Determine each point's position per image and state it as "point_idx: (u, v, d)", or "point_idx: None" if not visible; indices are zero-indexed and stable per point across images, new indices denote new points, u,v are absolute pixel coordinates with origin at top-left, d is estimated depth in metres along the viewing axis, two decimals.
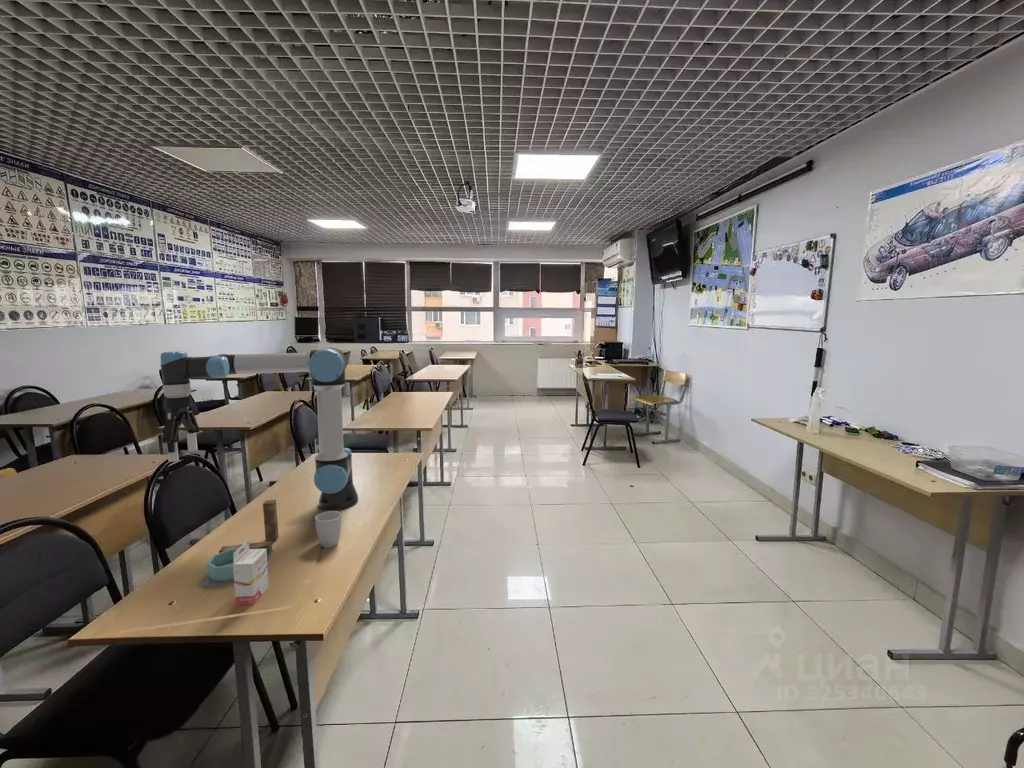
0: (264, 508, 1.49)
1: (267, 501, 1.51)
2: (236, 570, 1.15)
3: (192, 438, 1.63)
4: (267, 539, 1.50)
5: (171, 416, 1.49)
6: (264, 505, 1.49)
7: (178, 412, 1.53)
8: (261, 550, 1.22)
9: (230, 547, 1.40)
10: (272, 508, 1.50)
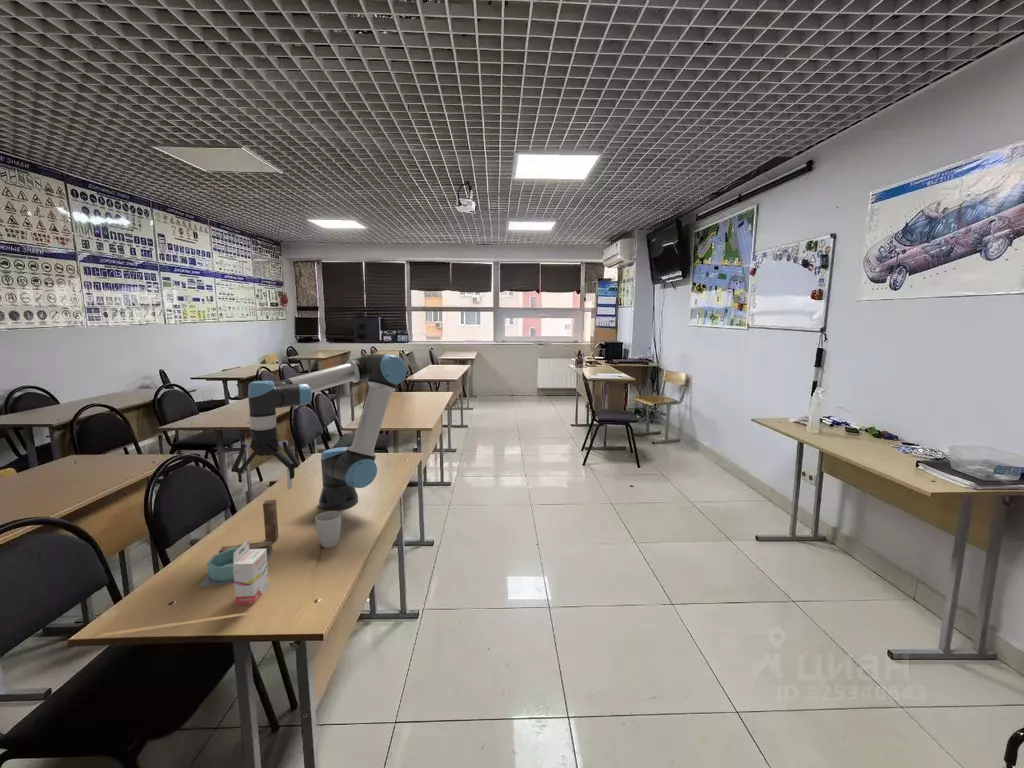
0: (264, 508, 1.49)
1: (267, 501, 1.51)
2: (236, 570, 1.15)
3: None
4: (267, 539, 1.50)
5: None
6: (264, 505, 1.49)
7: (253, 444, 1.46)
8: (261, 550, 1.22)
9: (230, 547, 1.40)
10: (272, 508, 1.50)
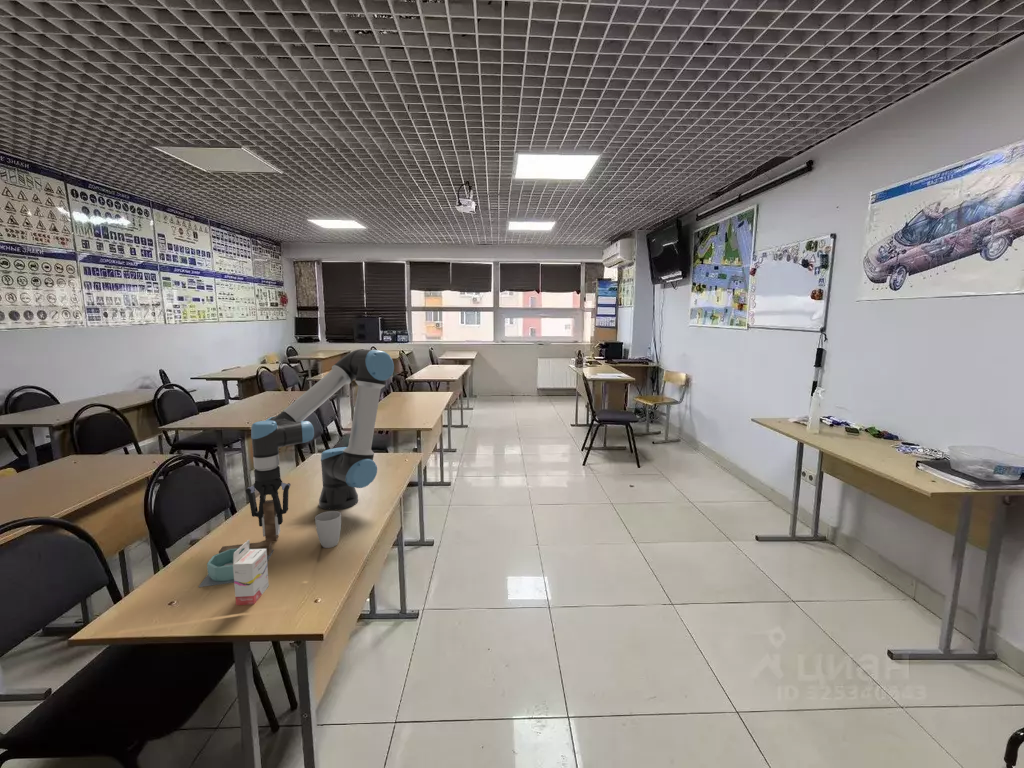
0: (264, 508, 1.49)
1: (267, 501, 1.51)
2: (236, 570, 1.15)
3: None
4: (267, 539, 1.50)
5: None
6: (264, 505, 1.49)
7: (257, 484, 1.48)
8: (261, 550, 1.22)
9: (230, 547, 1.40)
10: (272, 508, 1.50)
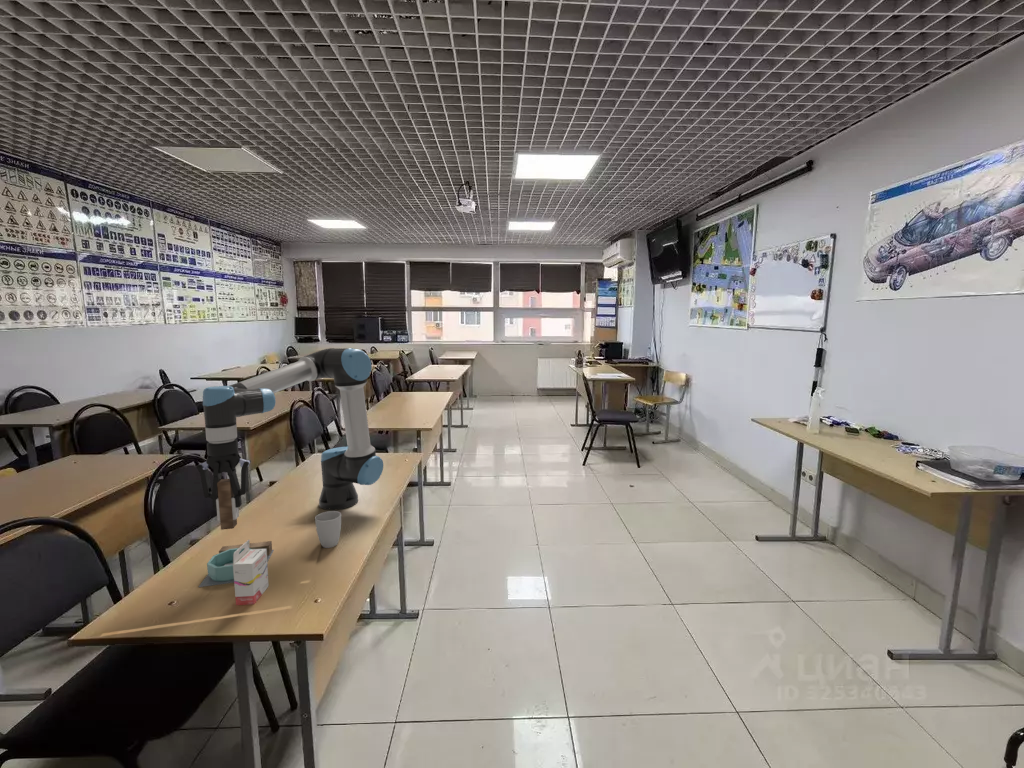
0: (219, 488, 1.28)
1: (223, 480, 1.30)
2: (236, 570, 1.15)
3: None
4: (222, 524, 1.29)
5: None
6: (219, 484, 1.28)
7: (210, 459, 1.27)
8: (261, 550, 1.22)
9: (230, 547, 1.40)
10: (228, 487, 1.28)
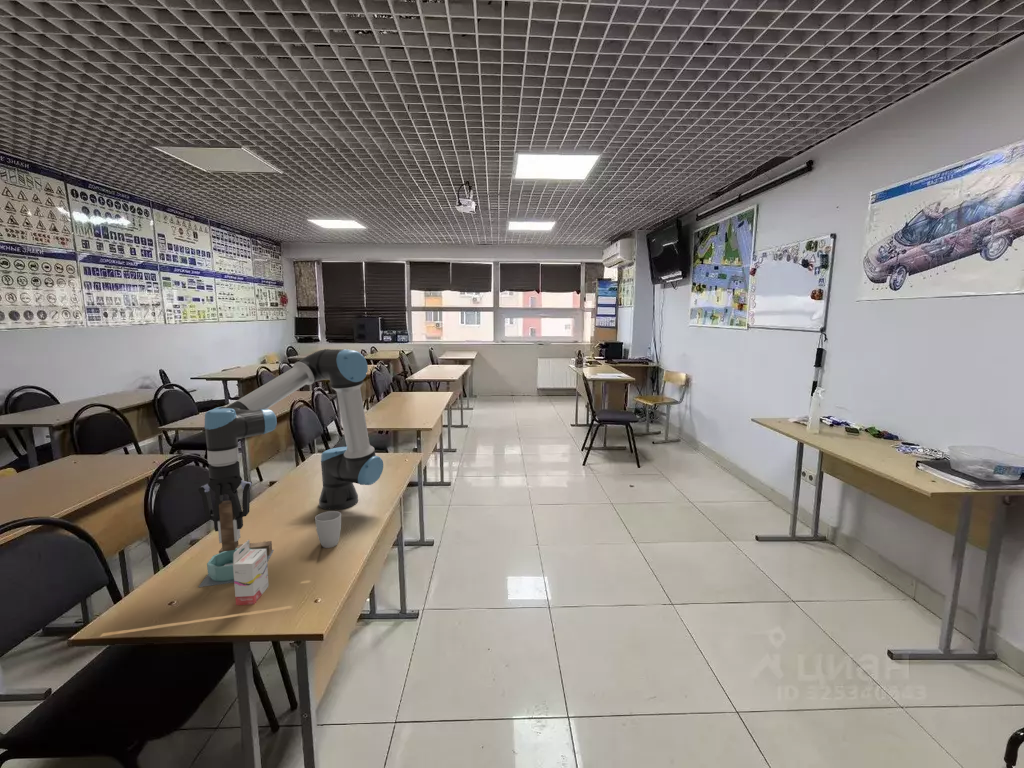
0: (220, 510, 1.28)
1: (224, 502, 1.30)
2: (236, 570, 1.15)
3: None
4: (224, 546, 1.30)
5: None
6: (220, 506, 1.28)
7: (211, 482, 1.27)
8: (261, 550, 1.22)
9: None
10: (229, 509, 1.29)
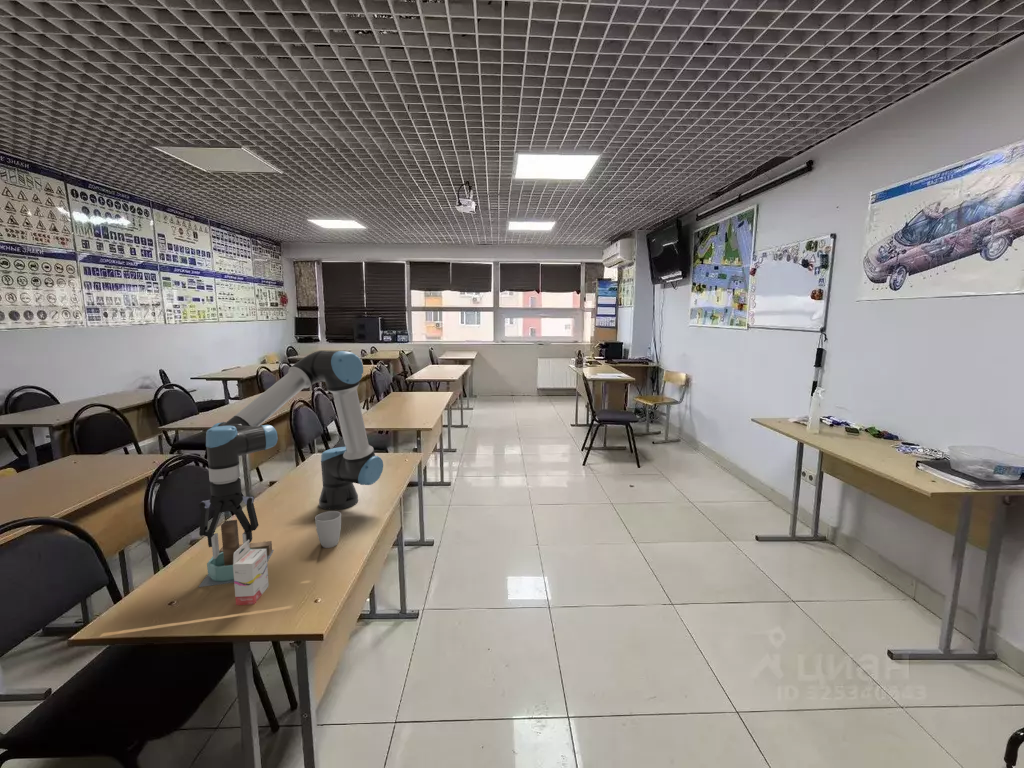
0: (222, 530, 1.29)
1: (226, 522, 1.31)
2: (236, 570, 1.15)
3: None
4: None
5: None
6: (222, 527, 1.29)
7: (213, 499, 1.28)
8: (261, 550, 1.22)
9: None
10: (231, 530, 1.30)
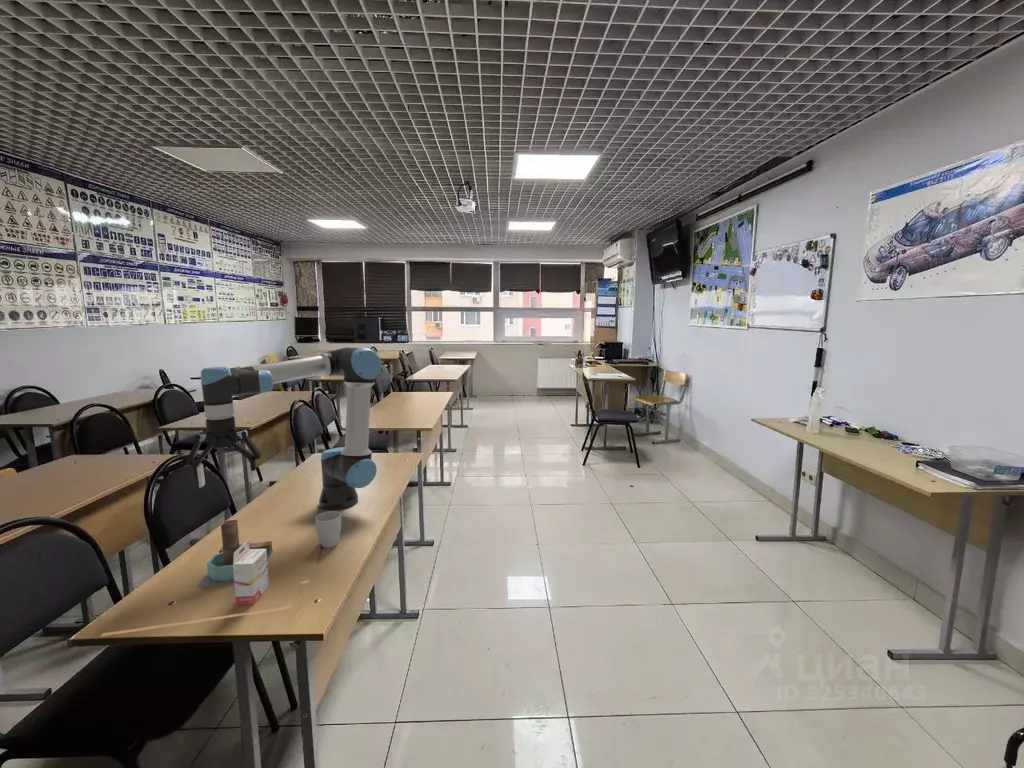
0: (222, 530, 1.29)
1: (227, 522, 1.31)
2: (236, 570, 1.15)
3: None
4: None
5: None
6: (222, 527, 1.29)
7: (209, 435, 1.36)
8: (261, 550, 1.22)
9: None
10: (231, 530, 1.30)
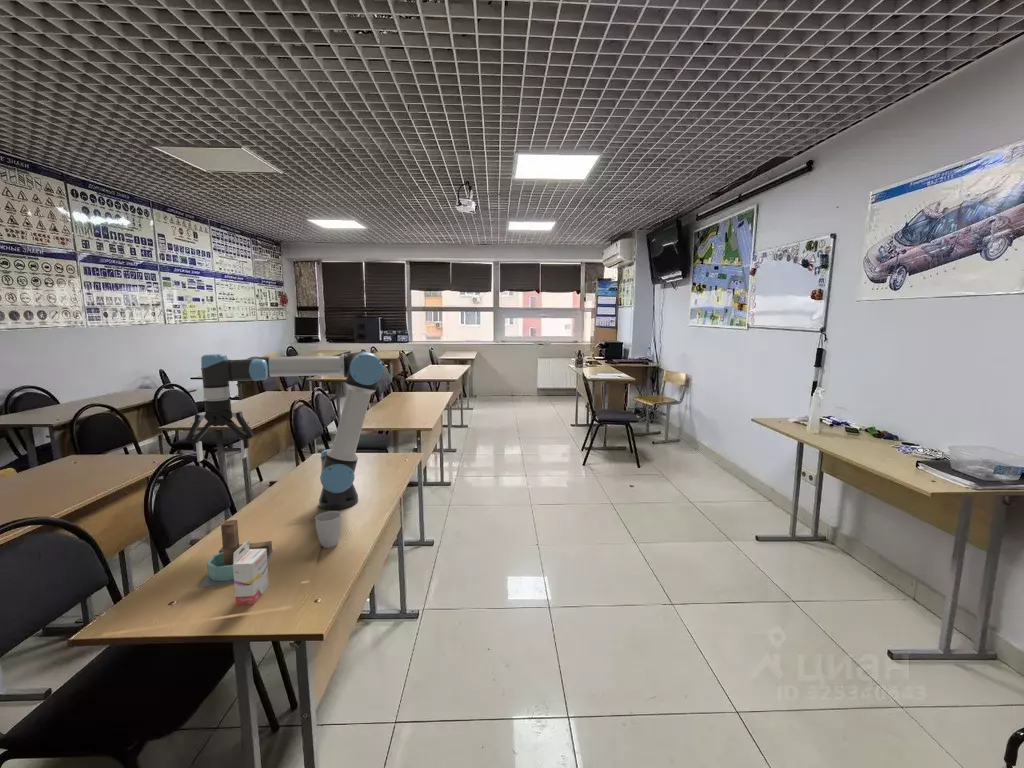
0: (222, 530, 1.29)
1: (227, 522, 1.31)
2: (236, 570, 1.15)
3: None
4: None
5: None
6: (222, 527, 1.29)
7: (207, 415, 1.53)
8: (261, 550, 1.22)
9: None
10: (231, 530, 1.30)
